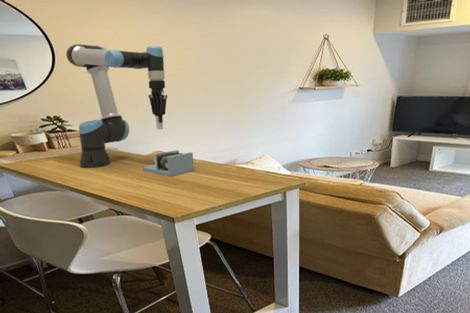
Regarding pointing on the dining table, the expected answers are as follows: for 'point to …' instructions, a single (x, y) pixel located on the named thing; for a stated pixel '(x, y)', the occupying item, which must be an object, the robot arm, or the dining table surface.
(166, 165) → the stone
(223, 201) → the dining table surface
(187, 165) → the vise
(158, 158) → the jaw
